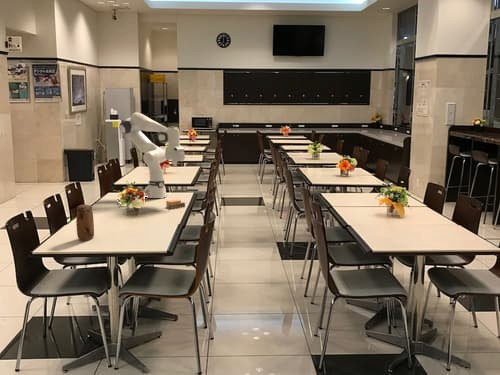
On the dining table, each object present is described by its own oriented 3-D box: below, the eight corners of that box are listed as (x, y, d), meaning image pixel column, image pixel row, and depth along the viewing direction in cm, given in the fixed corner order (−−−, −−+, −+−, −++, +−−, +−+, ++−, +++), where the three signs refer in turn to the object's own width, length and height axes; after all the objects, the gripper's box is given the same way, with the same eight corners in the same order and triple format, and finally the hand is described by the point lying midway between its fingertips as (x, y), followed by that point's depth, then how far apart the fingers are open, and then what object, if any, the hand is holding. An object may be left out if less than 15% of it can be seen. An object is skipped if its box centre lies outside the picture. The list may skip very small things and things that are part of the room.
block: (83, 236, 308) (81, 203, 304) (95, 236, 307) (93, 203, 304) (75, 241, 297) (73, 207, 294) (88, 242, 297) (86, 207, 293)
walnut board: (169, 209, 382) (169, 205, 381) (183, 206, 391) (183, 202, 390) (171, 209, 380) (170, 205, 380) (185, 206, 389) (184, 202, 389)
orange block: (166, 207, 388) (166, 201, 387) (176, 205, 394) (175, 199, 393) (171, 208, 384) (171, 202, 383) (181, 206, 390) (180, 200, 389)
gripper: (162, 147, 399) (163, 165, 402) (179, 149, 385) (179, 167, 388) (169, 146, 404) (169, 164, 406) (185, 148, 390) (186, 166, 392)
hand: (174, 166), depth 397 cm, fingers closed
